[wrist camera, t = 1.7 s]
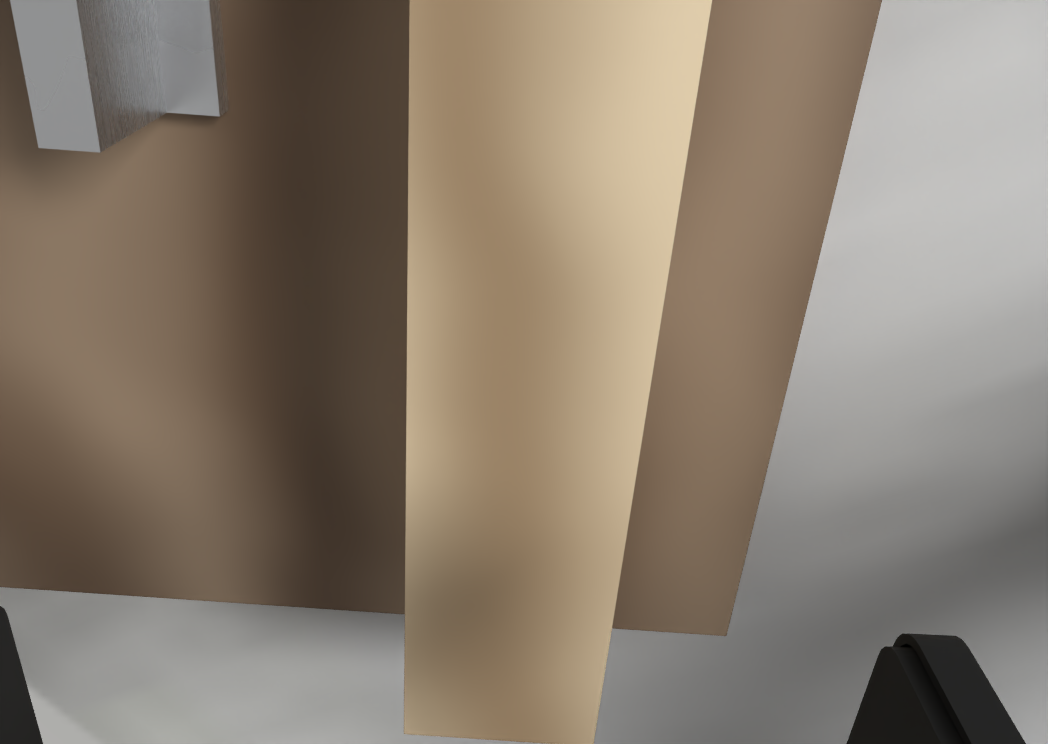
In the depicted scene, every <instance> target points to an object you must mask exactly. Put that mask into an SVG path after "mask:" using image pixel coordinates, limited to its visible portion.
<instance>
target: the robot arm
mask: <svg viewBox="0 0 1048 744" xmlns="http://www.w3.org/2000/svg"><path fill="white" fill-rule="evenodd" d="M0 744H43V742H42V738H41V735H40V731H39V728H38V724H37V720H36V717H35V713H34V710H33V706H32V702H31V699H30V695H29V692H28V688H27V684H26V681H25V677H24V674H23V670H22V666H21V663H20V659H19V656H18V652H17V648H16V645H15V641H14V638H13V634H12V630H11V627H10V623H9V619H8V616H7V613H6V611H5V609H4V608H2V607H1V606H0ZM847 744H1026V743H1025V742H1024V740H1023V738H1022V737H1021V735H1020V733H1019V732H1018V730H1017V728H1016V726H1015V725H1014V723H1013V721H1012V720H1011V718H1010V716H1009V715H1008V713H1007V711H1006V710H1005V708H1004V706H1003V705H1002V703H1001V701H1000V700H999V698H998V696H997V695H996V693H995V691H994V690H993V688H992V686H991V685H990V683H989V681H988V679H987V678H986V676H985V674H984V673H983V671H982V669H981V668H980V666H979V664H978V663H977V661H976V659H975V658H974V656H973V654H972V653H971V651H970V649H969V648H968V646H967V645H966V644H965V643H964V641H963V640H962V639H960V638H958V637H957V636H945V635H923V634H902V635H900V636H899V637H898V638H897V639H896V641H895V643H894V645H893V647H884V648H883V649H881V651H880V653H879V655H878V658H877V661H876V663H875V666H874V669H873V672H872V675H871V677H870V680H869V683H868V686H867V689H866V691H865V694H864V697H863V700H862V702H861V705H860V708H859V711H858V714H857V716H856V719H855V722H854V725H853V728H852V730H851V733H850V736H849V739H848V741H847Z"/></svg>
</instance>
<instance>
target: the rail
mask: <svg viewBox="0 0 1048 744" xmlns="http://www.w3.org/2000/svg"><path fill="white" fill-rule="evenodd" d="M711 4H712V0H410V16H409V146H408V276H407V406H406V536H405V666H404V734H411V735H426V736H441V737H457V738H472V739H487V740H502V741H518V742H533V743H548V744H594V737H595V731H596V725H597V719H598V712H599V706H600V700H601V693H602V687H603V681H604V675H605V668H606V662H607V656H608V650H609V643H610V637H611V631H612V625H613V618H614V612H615V606H616V600H617V593H618V587H619V581H620V574H621V568H622V562H623V556H624V549H625V543H626V537H627V531H628V524H629V518H630V512H631V506H632V499H633V493H634V487H635V481H636V474H637V468H638V462H639V455H640V449H641V443H642V437H643V430H644V424H645V418H646V412H647V405H648V399H649V393H650V387H651V380H652V374H653V368H654V361H655V355H656V349H657V343H658V336H659V330H660V324H661V318H662V311H663V305H664V299H665V293H666V286H667V280H668V274H669V268H670V261H671V255H672V249H673V242H674V236H675V230H676V224H677V217H678V211H679V205H680V199H681V192H682V186H683V180H684V174H685V167H686V161H687V155H688V149H689V142H690V136H691V130H692V123H693V117H694V111H695V105H696V98H697V92H698V86H699V80H700V73H701V67H702V61H703V55H704V48H705V42H706V36H707V29H708V23H709V17H710V11H711Z"/></svg>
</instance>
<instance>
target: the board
mask: <svg viewBox="0 0 1048 744" xmlns="http://www.w3.org/2000/svg"><path fill="white" fill-rule="evenodd" d="M881 2H882V0H712V4H711V11H710V17H709V23H708V29H707V36H706V42H705V48H704V55H703V61H702V67H701V73H700V80H699V86H698V92H697V98H696V105H695V111H694V117H693V123H692V130H691V136H690V142H689V149H688V155H687V161H686V167H685V174H684V180H683V186H682V192H681V199H680V205H679V211H678V217H677V224H676V230H675V236H674V242H673V249H672V255H671V261H670V268H669V274H668V280H667V286H666V293H665V299H664V305H663V311H662V318H661V324H660V330H659V336H658V343H657V349H656V355H655V361H654V368H653V374H652V380H651V387H650V393H649V399H648V405H647V412H646V418H645V424H644V430H643V437H642V443H641V449H640V455H639V462H638V468H637V474H636V481H635V487H634V493H633V499H632V506H631V512H630V518H629V524H628V531H627V537H626V543H625V549H624V556H623V562H622V568H621V574H620V581H619V587H618V593H617V600H616V606H615V612H614V618H613V625H612V628H615V629H630V630H645V631H659V632H674V633H689V634H704V635H718V636H726V635H727V631H728V627H729V623H730V619H731V615H732V611H733V607H734V603H735V598H736V594H737V590H738V586H739V582H740V578H741V574H742V570H743V566H744V562H745V558H746V554H747V549H748V545H749V541H750V537H751V533H752V529H753V525H754V521H755V517H756V513H757V509H758V505H759V500H760V496H761V492H762V488H763V484H764V480H765V476H766V472H767V468H768V464H769V460H770V456H771V451H772V447H773V443H774V439H775V435H776V431H777V427H778V423H779V419H780V415H781V411H782V407H783V402H784V398H785V394H786V390H787V386H788V382H789V378H790V374H791V370H792V366H793V362H794V358H795V353H796V349H797V345H798V341H799V337H800V333H801V329H802V325H803V321H804V317H805V313H806V309H807V304H808V300H809V296H810V292H811V288H812V284H813V280H814V276H815V272H816V268H817V264H818V260H819V255H820V251H821V247H822V243H823V239H824V235H825V231H826V227H827V223H828V219H829V215H830V211H831V207H832V202H833V198H834V194H835V190H836V186H837V182H838V178H839V174H840V170H841V166H842V162H843V158H844V153H845V149H846V145H847V141H848V137H849V133H850V129H851V125H852V121H853V117H854V113H855V109H856V104H857V100H858V96H859V92H860V88H861V84H862V80H863V76H864V72H865V68H866V64H867V60H868V55H869V51H870V47H871V43H872V39H873V35H874V31H875V27H876V23H877V19H878V15H879V11H880V6H881ZM220 7H221V19H222V30H223V42H224V53H225V65H226V76H227V87H228V99H229V110H228V111H227V112H225V113H224V114H223V115H221V116H220V117H219V116H206V115H193V114H180V113H166V114H164V115H162V116H161V117H159V118H157V119H156V120H154V121H152V122H151V123H149V124H147V125H146V126H144V127H142V128H141V129H139V130H137V131H136V132H134V133H132V134H131V135H129V136H127V137H126V138H124V139H122V140H121V141H119V142H117V143H116V144H114V145H112V146H111V147H109V148H107V149H106V150H104V151H102V152H101V153H99V152H86V151H72V150H59V149H46V148H38V143H37V138H36V132H35V127H34V122H33V117H32V112H31V106H30V101H29V96H28V91H27V86H26V81H25V75H24V70H23V65H22V60H21V55H20V49H19V44H18V39H17V34H16V29H15V24H14V18H13V13H12V8H11V3H10V0H0V587H10V588H24V589H39V590H54V591H69V592H83V593H98V594H113V595H128V596H142V597H157V598H172V599H187V600H202V601H216V602H231V603H246V604H261V605H275V606H290V607H305V608H320V609H334V610H349V611H364V612H379V613H394V614H405V536H406V406H407V276H408V146H409V16H410V0H220Z"/></svg>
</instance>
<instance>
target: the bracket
mask: <svg viewBox="0 0 1048 744" xmlns="http://www.w3.org/2000/svg"><path fill="white" fill-rule="evenodd" d="M10 3H11V8H12V13H13V18H14V24H15V29H16V34H17V39H18V44H19V49H20V55H21V60H22V65H23V70H24V75H25V81H26V86H27V91H28V96H29V101H30V106H31V112H32V117H33V122H34V127H35V132H36V138H37V143H38V148H46V149H59V150H72V151H86V152H99V153H101V152H102V151H104V150H106V149H107V148H109V147H111V146H112V145H114V144H116V143H117V142H119V141H121V140H122V139H124V138H126V137H127V136H129V135H131V134H132V133H134V132H136V131H137V130H139V129H141V128H142V127H144V126H146V125H147V124H149V123H151V122H152V121H154V120H156V119H157V118H159V117H161V116H162V115H164V114H166V113H180V114H193V115H206V116H219V117H220V116H221V115H223V114H224V113H225V112H227V111H228V110H229V99H228V87H227V76H226V65H225V53H224V42H223V30H222V19H221V7H220V0H10Z"/></svg>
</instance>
